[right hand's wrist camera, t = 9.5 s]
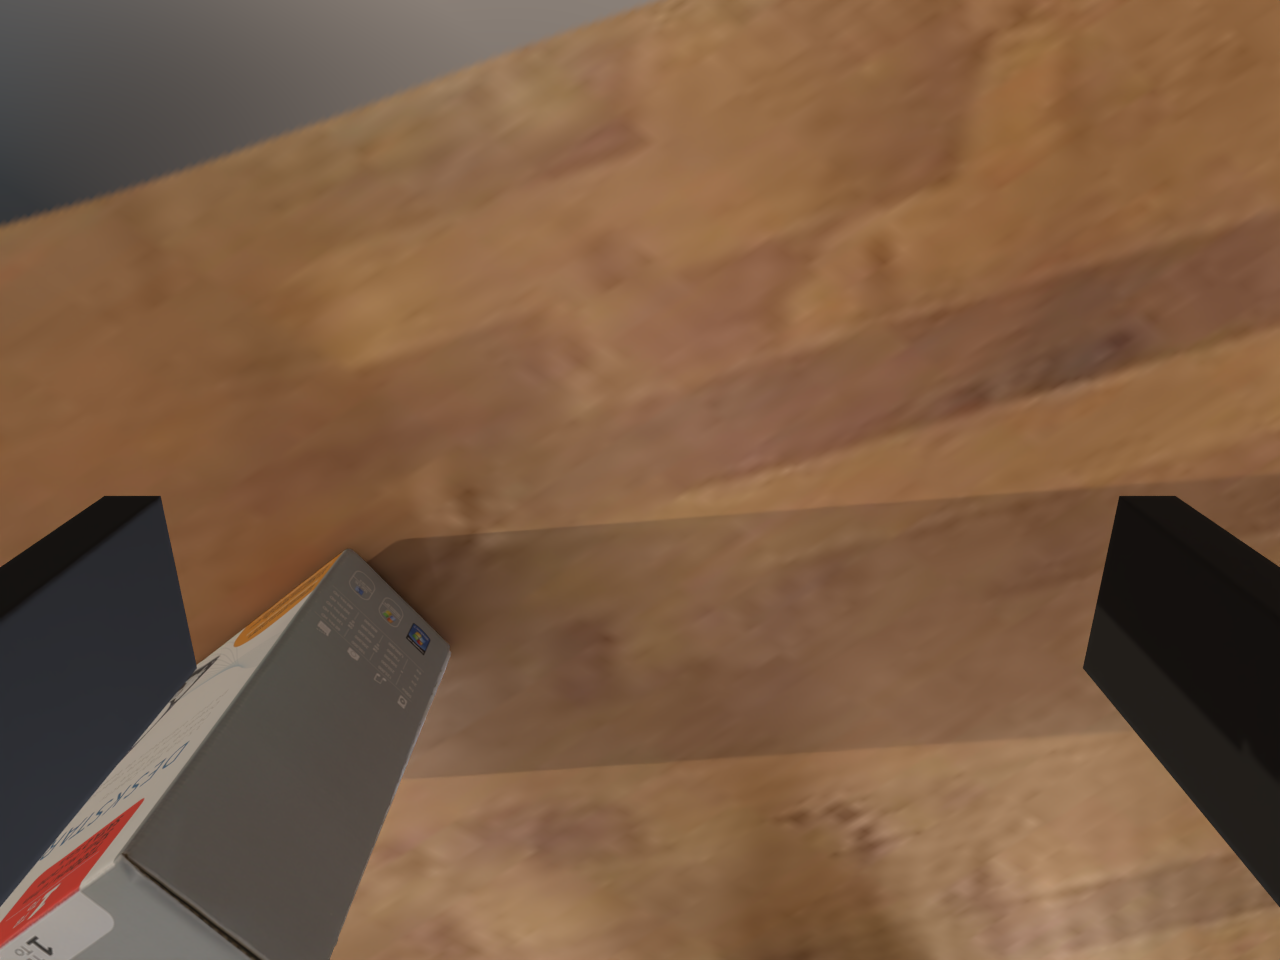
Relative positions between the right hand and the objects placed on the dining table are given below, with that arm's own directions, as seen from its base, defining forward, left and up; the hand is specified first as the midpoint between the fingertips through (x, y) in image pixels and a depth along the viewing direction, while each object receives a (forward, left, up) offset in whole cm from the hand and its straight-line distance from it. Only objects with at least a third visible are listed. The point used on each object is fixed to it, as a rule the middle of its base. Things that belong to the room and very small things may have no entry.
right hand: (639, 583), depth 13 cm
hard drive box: (-20, +18, -28) cm, 39 cm away
